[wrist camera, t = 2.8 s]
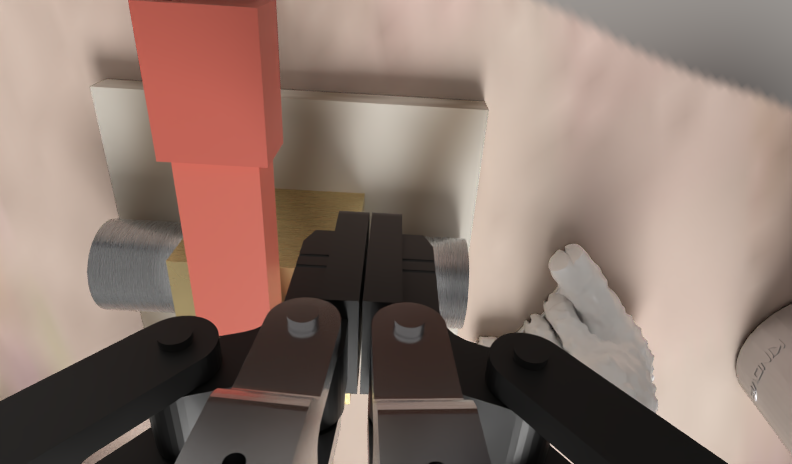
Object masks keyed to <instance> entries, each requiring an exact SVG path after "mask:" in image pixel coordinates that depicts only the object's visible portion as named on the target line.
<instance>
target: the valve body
mask: <svg viewBox="0 0 792 464" xmlns="http://www.w3.org/2000/svg"><path fill="white" fill-rule="evenodd" d="M275 202H276V218H277V234H278V250H279V266H280V282H281V298H282V302H284V300H285V297H286V294H287V291H288V287H289V284H290V281H291V278H292V275H293V272H294V269H295V267H296V262H297V259H298V256H299V253H300V250H301V247H302V244H303V241H304V240H305V239H306V238H307V237H308V236H309V235H311V234H312V233H313V232H314V231H315V230H329V231H335V227H336V223H337V218H338V214H339V211H354V212H364V206H365V194H364V193H347V192H330V191H312V190H295V189H278V188H275ZM369 237H370V233H369ZM424 237H425V238H426V239H427V240H428V242H429V243H430V244H431V245H432V246H433V250H434V260H435V261H434V263H435V270H436V273H435V274H436V280H437V290H438V300H439V309H440V315H441V316H442V317H443V319H444V320H445V323H446V325H447V328H453V329H461V328H462V327H463V324H464V320H465V315H466V309H467V300H468V286H469V256H468V246H467V242H466V239H465V238H448V237H431V236H424ZM87 274H88V284H89V289H90V292H91V295H92V297H93V299H94V301H95V302H96V304H97V305H98V306H100V307H101V308H103V309H110V310H128V311H146V312H164V313H175V314H176V316H196V314H195V308H194V302H193V295H192V289H191V283H190V277H189V271H188V264H187V258H186V252H185V246H184V240H183V233H182V227H181V222H167V221H150V220H132V219H111V220H109V221H107V222H106V223H104V224H103V225H102V226H101V228H100V229H99V230H98V232H97V234H96V236H95V238H94V240H93V243H92V245H91V249H90V253H89V258H88V270H87ZM350 396H351V394H348V393H346V395H345V403H344V404H350Z"/></svg>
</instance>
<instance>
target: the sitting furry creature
mask: <svg viewBox="0 0 792 464" xmlns="http://www.w3.org/2000/svg"><path fill="white" fill-rule="evenodd" d="M549 269H550V272H551V275H552V277H553V278H554V280H555V281H556V282H557V283H558V286H557V287H556V289H555V290H554V292H553V293H551V294H549V297H548V302H546V301H543V308H544V310H545V311H544V312H543V313H542V314H541V315H538V314H532V315H530V317H531V323H529V322H528V321H527V320H525V321H524V325H523V326H522V327H521V328H520V330H519V331H518V332H517V333H523V332H524V330H525V333H529V334H533V335H537V336H540V337H543V338H545V339H547V340H549V341H551V342H553V343H554V344H556V345H557V346H559V347H560V348H562V349H563V350H564V351H566V352H567V353H569V354H570V355H572V356H573V357H575V358H576V359H577V360H579V361H580V362H582V363H583V364H585V365H586V366H588V367H589V368H590V369H592V370H593V371H595V372H596V373H598V374H599V375H601V376H602V377H603V378H605V379H606V380H608V381H609V382H611V383H612V384H614V385H615V386H617V387H618V388H619V389H621V390H622V391H624V392H625V393H627V394H628V395H630V396H631V397H632V398H634V399H635V400H637V401H638V402H640V403H641V404H643V405H644V406H645V407H647V408H648V409H650V410H651V411H653V412H654V413H656V411H657V410H658V400H657V398H656V397H655V392H656V386H655V384H653V383H652V381H653V380H654V376H653V374H652V373H653V370H654V368H653V364H652V363H653V360H654V355H653V354H652V353H651V350H650V349H649V348H648V346H647V345H648V343H647V340H646V339H645V338H644V337H643V336H642V331H641V328H640V327H639V326H637V325H636V324H635V322H634V320H633V317H632V315H629V314H627V313H626V312H625V307H624V306H622V304H621V301H620V299H619V297H618V296H617V295H616V294H615V292H614V291H613V290H611V289H610V288H609V287H608V284H607V279H606V278H605V276H604V275H603V274H602V272H601V268H600V267H599V266H598V265H597V264H595V263H594V262H593V260H592V259H591V258H590V256H589V254H588V253H587V252H586V251H585V250H584V249H583V248H582V247H581V246H580V245H578V244H569V245H567V246H565V251H562V250H559V249H558V250H557V251H556V253H555V254H554V255H553V256H552V257H551V259H550V261H549ZM545 316H546V319H547V320H548V321H549V322H548V321H546V320H545V319H544V317H545ZM549 323H550V324H551V325H552V326H553V328H554V329H555V330H553V329H552V328H551V325H550V324H549ZM496 339H497V338H496V337H492V336H489V337H481V336H479V342H478V344H479V345H483V346H486V347H491V345H492V343H493V342H494V341H495V340H496Z"/></svg>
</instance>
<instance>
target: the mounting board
mask: <svg viewBox="0 0 792 464" xmlns="http://www.w3.org/2000/svg"><path fill="white" fill-rule="evenodd" d="M90 90H91V95H92V99H93V103H94V108H95V112H96V117H97V121H98V126H99V130H100V135H101V139H102V144H103V148H104V152H105V157H106V161H107V166H108V170H109V175H110V179H111V184H112V188H113V193H114V197H115V202H116V206H117V210H118V215H119V219H132V220H150V221H167V222H181V221H180V215H179V209H178V203H177V196H176V190H175V184H174V178H173V172H172V165H171V162H156V156H155V150H154V145H153V139H152V133H151V128H150V122H149V116H148V111H147V105H146V99H145V94H144V88H143V82H142V81H133V80H116V79H105V80H103V81H101V82H99V83H96V84H94V85H92V86H90ZM281 107H282V127H283V144H282V146H281V148H280V149H279V151H278V152H277V154H276V156H275V157H274V159H273V170H274V186H275V188H278V189H295V190H312V191H330V192H347V193H364V194H365V206H364V212H370V226H369V233H370V228H371V218H372V212H375V213H394V214H402V234H408V235H423V236H431V237H448V238H465V239H466V242H467V246H468V254H469V247H470V240H471V233H472V226H473V219H474V212H475V205H476V197H477V190H478V183H479V176H480V169H481V162H482V155H483V148H484V141H485V134H486V126H487V119H488V112H489V110H488V107H487V105H486V103H485V101H471V100H454V99H437V98H420V97H404V96H387V95H370V94H353V93H336V92H319V91H302V90H285V89H281ZM140 313H141V317H142V322H143V326H144V328H146V327H148V326H150V325H152V324H154V323H156V322H159V321H161V320H164V319H167V318H171V317H176V314H175V313H164V312H146V311H140ZM448 329H449V330H450V331H451V332H453V333H454V334H455V335H457V332H458V329H453V328H448ZM361 346H362V345H361ZM359 368H361V356H360V366H359Z"/></svg>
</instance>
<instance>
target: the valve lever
mask: <svg viewBox="0 0 792 464" xmlns="http://www.w3.org/2000/svg"><path fill="white" fill-rule="evenodd" d="M128 2H129V8H130V14H131V20H132V25H133V31H134V37H135V42H136V48H137V54H138V59H139V65H140V71H141V76H142V82H143V88H144V94H145V99H146V105H147V111H148V116H149V122H150V128H151V133H152V139H153V145H154V150H155V156H156V162H171V165H172V172H173V178H174V184H175V190H176V196H177V203H178V209H179V215H180V221H181V227H182V233H183V240H184V246H185V252H186V258H187V264H188V271H189V277H190V283H191V289H192V295H193V302H194V308H195V314H196V316H197V317H202V318H205V319H207V320H209V321H211V322H212V323H213V324H214V325H215V326H216V327H217V329H218V332H219V336H222V335H228V334H234V333H240V332H245V331H249V330H252V329H256V328H258V327H260V326H262V324H263V321H264V319H265V317H266V315H267V314H268V312H269V311H270V310H271V309H272V308H273V307H275V306H276V305H278V304H280V303H282V298H281V282H280V266H279V250H278V234H277V218H276V202H275V186H274V170H273V159H274V157H275V156H276V154H277V152H278V151H279V149H280V148H281V146H282V144H283V127H282V107H281V88H280V68H279V49H278V29H277V10H276V0H128Z"/></svg>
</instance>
